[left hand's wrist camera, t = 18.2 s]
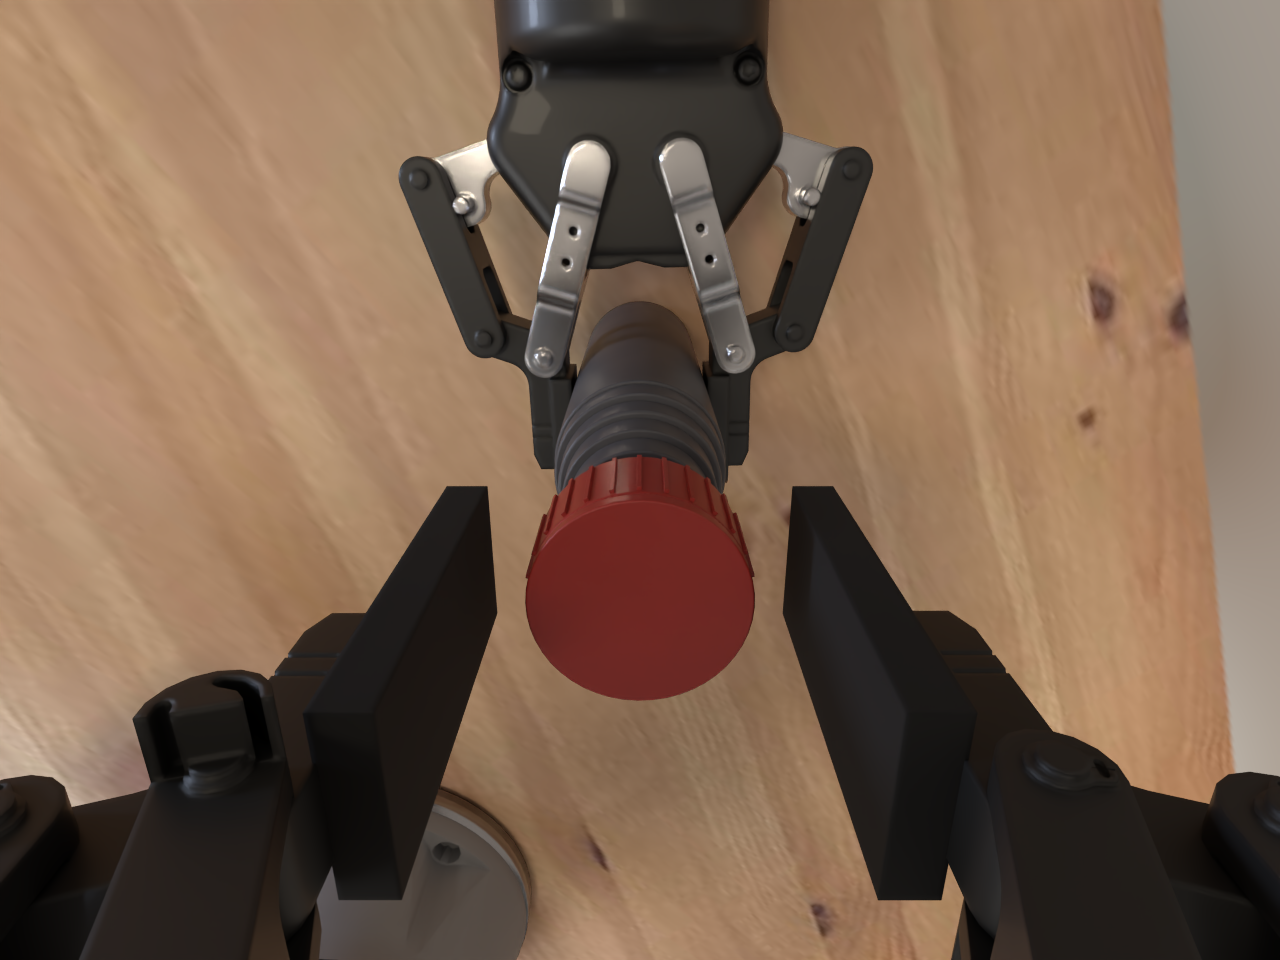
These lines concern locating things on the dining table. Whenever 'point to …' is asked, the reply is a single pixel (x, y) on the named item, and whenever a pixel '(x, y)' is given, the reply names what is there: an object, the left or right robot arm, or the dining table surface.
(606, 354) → the bottle
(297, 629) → the dining table surface
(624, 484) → the cap
